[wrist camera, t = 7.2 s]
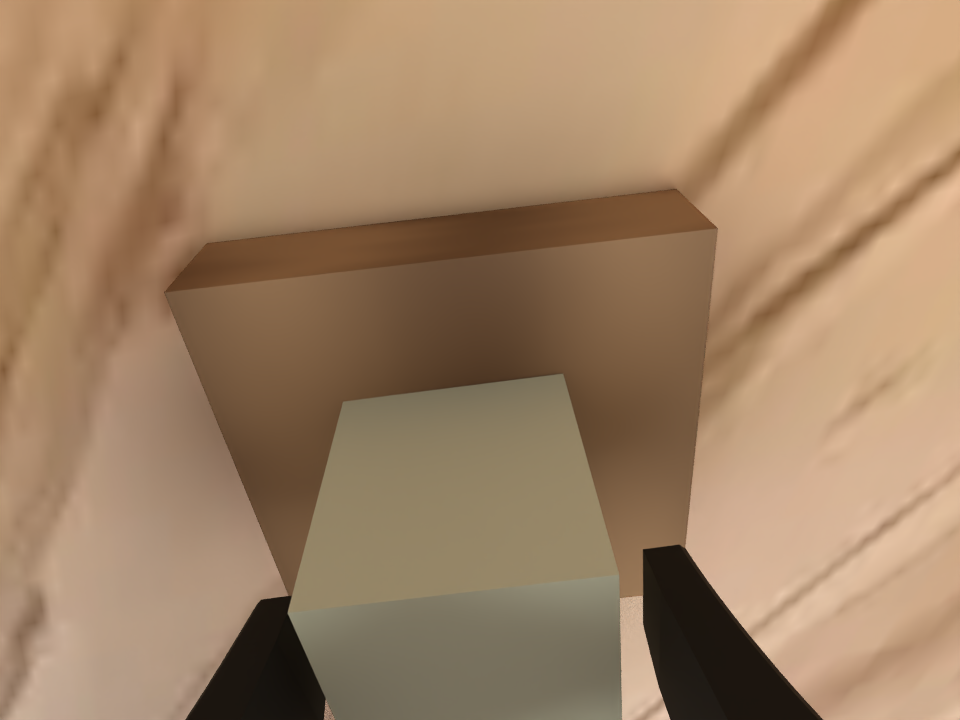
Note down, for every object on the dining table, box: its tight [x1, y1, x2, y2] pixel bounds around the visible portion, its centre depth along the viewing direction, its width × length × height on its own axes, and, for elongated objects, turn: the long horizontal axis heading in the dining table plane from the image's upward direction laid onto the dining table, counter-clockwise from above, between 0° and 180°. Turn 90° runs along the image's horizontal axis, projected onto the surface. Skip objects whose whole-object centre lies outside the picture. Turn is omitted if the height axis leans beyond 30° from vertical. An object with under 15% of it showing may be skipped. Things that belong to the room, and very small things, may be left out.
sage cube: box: [288, 374, 622, 720], centre depth 12 cm, size 4×4×5 cm
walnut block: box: [164, 189, 718, 598], centre depth 15 cm, size 10×10×3 cm
